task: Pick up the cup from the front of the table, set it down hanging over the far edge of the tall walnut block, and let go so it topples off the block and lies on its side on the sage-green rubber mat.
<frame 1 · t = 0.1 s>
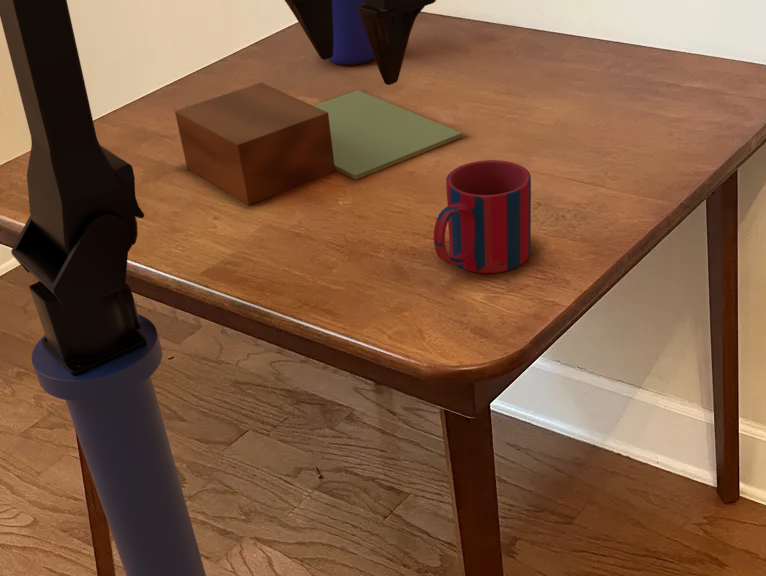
hand: (358, 70, 87), 12 cm above the table, tool pointing down, fingers open, 9 cm apart
cup: (476, 263, 85), on the table
mat: (357, 133, 107), on the table
mug: (368, 58, 126), on the table
step: (260, 170, 102), on the table
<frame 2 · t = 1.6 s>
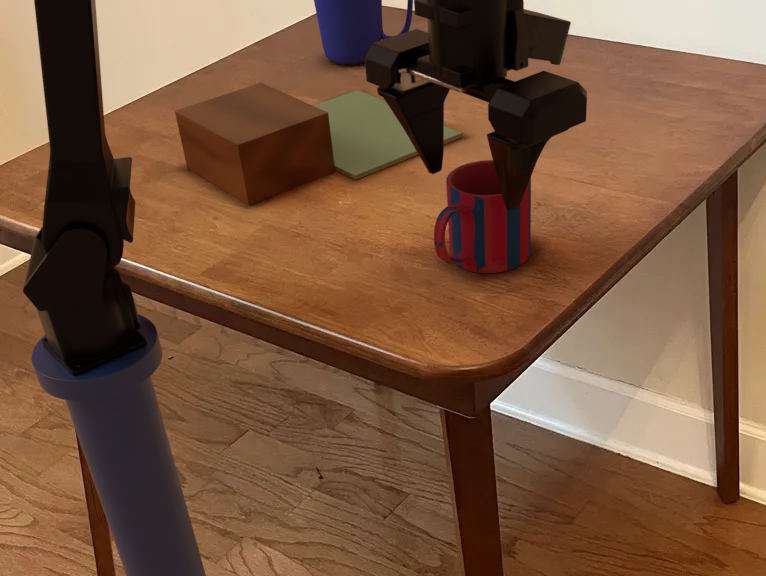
hand: (472, 189, 81), 6 cm above the table, tool pointing down, fingers open, 9 cm apart
nothing on the table moved.
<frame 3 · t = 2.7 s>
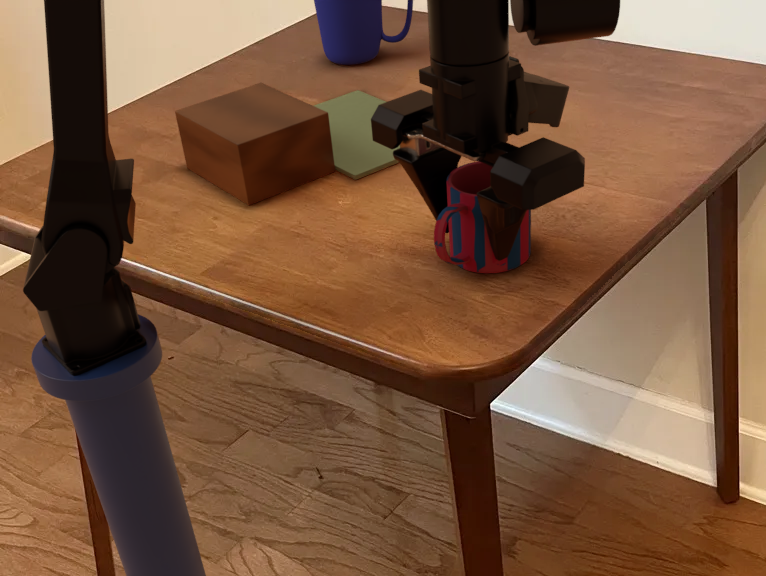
hand: (475, 244, 84), 2 cm above the table, tool pointing down, fingers closed on cup, 6 cm apart
cup: (476, 263, 85), on the table, touching gripper
everything else where it was.
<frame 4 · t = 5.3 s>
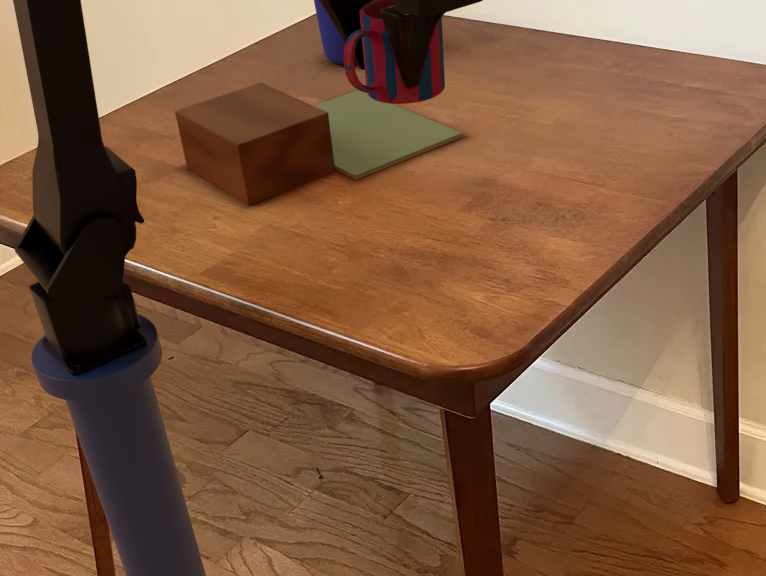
hand: (388, 77, 86), 12 cm above the table, tool pointing down, fingers closed on cup, 6 cm apart
cup: (391, 97, 87), point 10 cm above the table, touching gripper
everything else where it was.
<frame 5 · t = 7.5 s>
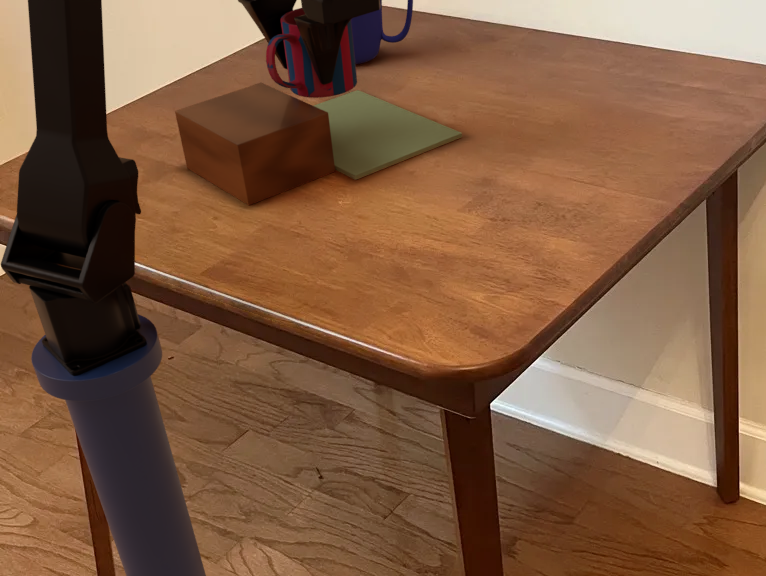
hand: (307, 75, 100), 8 cm above the table, tool pointing down, fingers closed on cup, 6 cm apart
cup: (311, 92, 101), point 6 cm above the table, touching gripper
everything else where it was.
when the fingers open (7 cm above the table, at t = 8.0 s): cup drops 2 cm, resting on mat.
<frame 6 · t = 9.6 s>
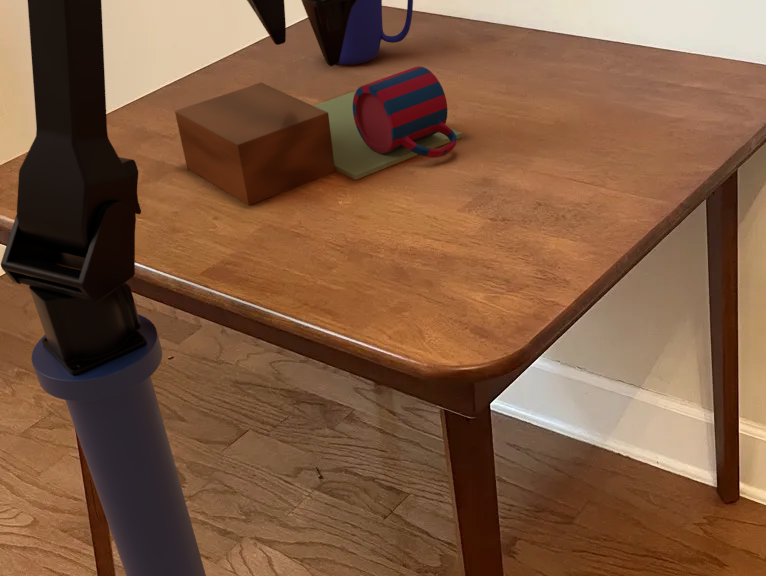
hand: (306, 53, 99), 10 cm above the table, tool pointing down, fingers open, 9 cm apart
cup: (381, 130, 99), point 3 cm above the table, touching mat
everything else where it was.
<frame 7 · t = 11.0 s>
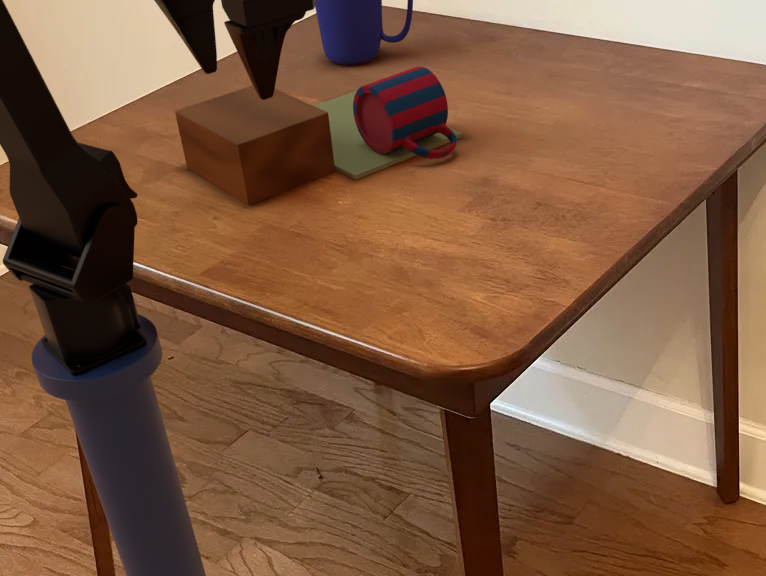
hand: (238, 84, 87), 12 cm above the table, tool pointing down, fingers open, 9 cm apart
nothing on the table moved.
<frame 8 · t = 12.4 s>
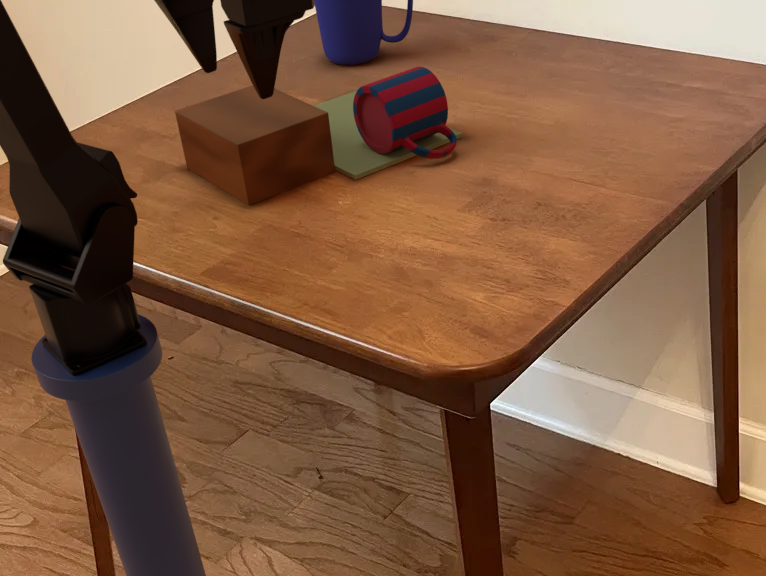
hand: (237, 84, 87), 12 cm above the table, tool pointing down, fingers open, 9 cm apart
nothing on the table moved.
at the end: cup tilted 90°; cup inside the target area on the mat (8.3 cm from its centre), point 3.3 cm above the mat's base; the gripper is holding nothing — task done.
